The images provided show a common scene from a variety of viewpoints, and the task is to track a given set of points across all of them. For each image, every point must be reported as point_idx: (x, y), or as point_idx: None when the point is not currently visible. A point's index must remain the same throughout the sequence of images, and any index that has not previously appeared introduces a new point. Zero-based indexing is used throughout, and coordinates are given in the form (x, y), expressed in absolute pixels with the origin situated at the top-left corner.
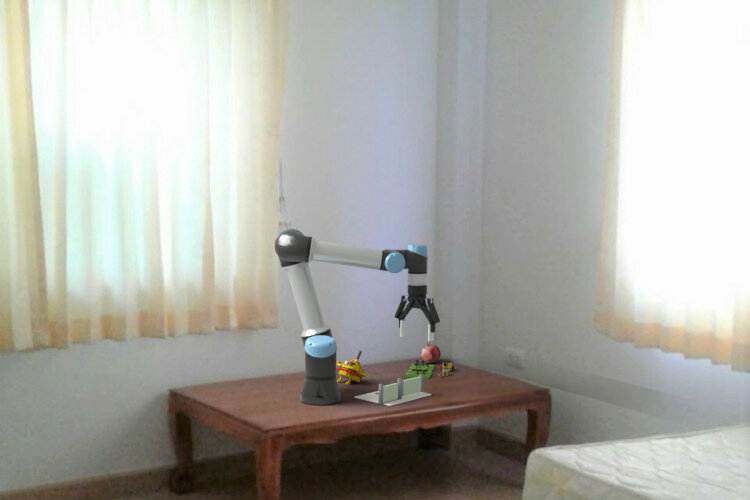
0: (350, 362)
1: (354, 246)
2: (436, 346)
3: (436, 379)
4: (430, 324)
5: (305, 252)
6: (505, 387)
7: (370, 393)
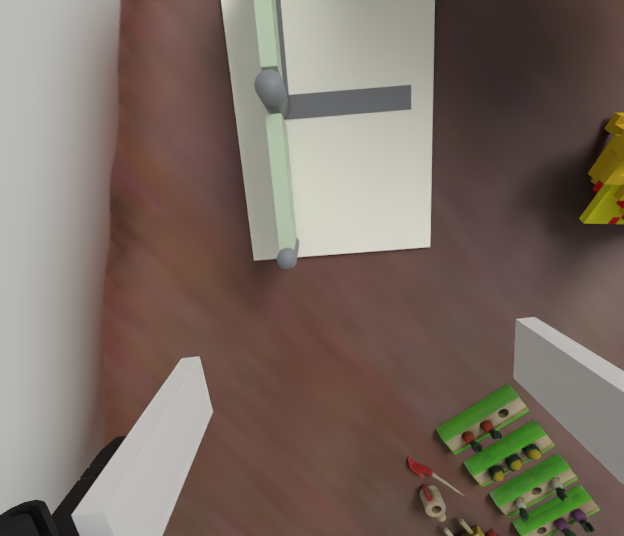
0: None
1: None
2: None
3: (410, 436)
4: (25, 504)
5: None
6: (188, 504)
7: (425, 74)
